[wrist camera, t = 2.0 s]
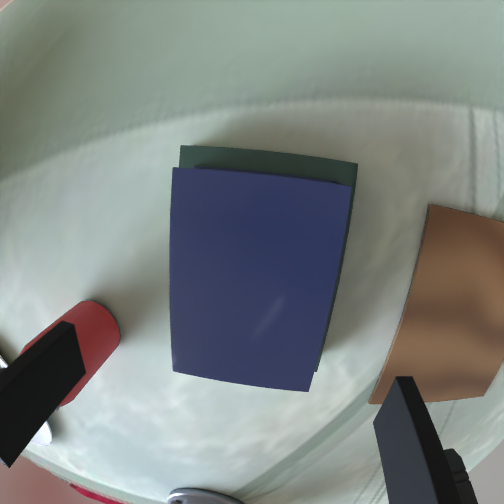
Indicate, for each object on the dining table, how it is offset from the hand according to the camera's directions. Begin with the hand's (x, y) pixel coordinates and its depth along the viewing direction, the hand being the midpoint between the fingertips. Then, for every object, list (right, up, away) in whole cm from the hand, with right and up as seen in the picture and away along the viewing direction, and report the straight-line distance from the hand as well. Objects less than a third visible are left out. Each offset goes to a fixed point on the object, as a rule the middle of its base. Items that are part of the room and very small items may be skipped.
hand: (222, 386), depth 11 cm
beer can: (-16, -3, +19) cm, 25 cm away
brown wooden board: (+24, -2, +14) cm, 28 cm away
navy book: (+1, +4, +13) cm, 13 cm away
